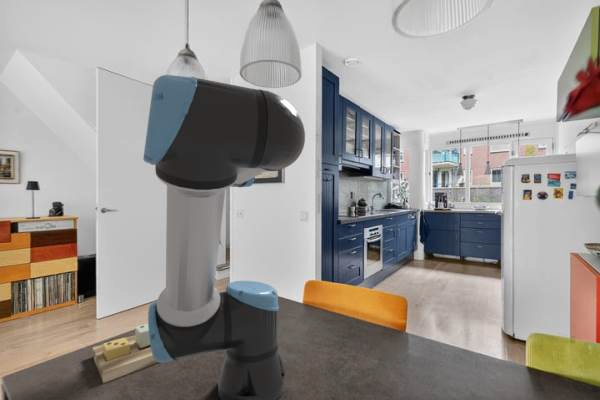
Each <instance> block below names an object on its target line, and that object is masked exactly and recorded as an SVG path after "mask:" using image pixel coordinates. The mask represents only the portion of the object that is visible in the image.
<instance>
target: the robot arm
mask: <svg viewBox="0 0 600 400" xmlns="http://www.w3.org/2000/svg"><path fill="white" fill-rule="evenodd" d="M150 97H151V99H150V107H149V113H148V120H147V129H146V137H145V144H144V145H145V146H144V153H143V158H142V159H143V161H144V162H145V163H146V164H150V166H151V165H152V166H153V165H154V167H155V168H154V170H155V171H154V172H155V176H156V177H157V178H158V180H159V181H160V182H162V183H163V184H164V185H166V224H165V225H166V231H165V232H166V235H165V236H166V237H165V238H166V241H165V242H166V247H165V249H166V251H165V254H166V255H165V288H164V289H163V290H162V291H161V292H160V294H159V296H158V298H157V299H156V301H152V302H151V303H150V305H149V307H148V314H147V321H148V322H147V323H148V329H149V336H150V347H151V351H152V355H153V357H154V359H155V360H156V361H157V362H159V363H161V364H163V363H167V362H178V361H180V360H184V359H188V358H193V357H197V356H203V355H207V354H211V353H215V352H219V351H224V350H226V352H225V353H226V355H225V358H224V361H223V364H222V367H221V371H220V374H219V377H218V380H217V381H218V382H217V387H218V388H217V391H218V392H217V393H218V396H219V399H220V400H278V399H279V398H280V397H281V396H282V395H283V393H284V392H285V391H286V390H285V389H286V379H287V378H286V370H285V368H284V364H283V362H282V358H281V356H280V352H279V310H280V305H279V297H278V296H279V295H278V291H277V290H276V288H275V287H274V286H271V285H270V284H267V283H265V282H261V281H255V280H254V281H253V280H236V281H233V282H229V283H228V284H227V285H226V287H225V291H222V292H220V291H219V290H218V289H217V287H216V286H215V282H216V274H217V264H218V257H219V247H220V239H221V229H222V221H223V212H224V205H225V204H224V203H225V195H226V190H227V189H229V188H231V187H232V188H245V187H246V188H249V187H252V185H254V182H255V177H257V176H259V175H261V174H263V173H265V172H278V171H280V170H283V169H286V168H288V167H289V166H290V167H291V165H292V164H294V163H296V161H297V160H298V159H299V157H300V156H301V154H302V153H303V149H304V147H305V142H306V132H305V126H304V123H303V121H302V118H301V116H300V115H299V113H298V111H297V110H296V109H295V108H294V106H293V105H292V104H291V103H290V102H289V101H287V99H285V98H284V97H282V96H280V95H278V94H276V93H273V92H272V91H269V90H264V89H259V88H258V89H257V88H252V87H251V88H250V87H245V86H239V85H235V84H228V83H224V82H219V81H215V80H209V79H205V78H204V79H203V78H198V77H196V76H184V75H183V76H182V75H172V74H163V75H161V76H159V77H157V78H156V79H155V81H154V82H153V85H152V90H151V96H150Z"/></svg>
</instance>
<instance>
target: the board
mask: <svg viewBox="0 0 600 400" xmlns="http://www.w3.org/2000/svg"><path fill="white" fill-rule="evenodd" d="M125 338H126V339H127V341H128V342H129V344H130V354H128V355H125V356H122V357H119V358H116V359H113V360H110V361H107V362H106V361H105V359H104V357H103V344H100V345H97V346H94V347H92V358H93V362H94V363H95V366H96V368H97V371H98V373H99V376H100V378H101V380H102V383H103V384H105V383H108V382H110V381H113V380H115V379H118V378H121V377H124V376H126V375H130V374H132V373H134V372H137V371H140V370H143V369H145V368H148V367H151V366H153V365H156V364H159V363H160V362H157V361H156V360H155V359H154V357H153V355H152V351H151V347H150V345H148V346H145V347H142V348H140V347H139V345H138V344H137V343H136V341H135V334H134V335H132V336H127V337H125Z"/></svg>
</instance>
